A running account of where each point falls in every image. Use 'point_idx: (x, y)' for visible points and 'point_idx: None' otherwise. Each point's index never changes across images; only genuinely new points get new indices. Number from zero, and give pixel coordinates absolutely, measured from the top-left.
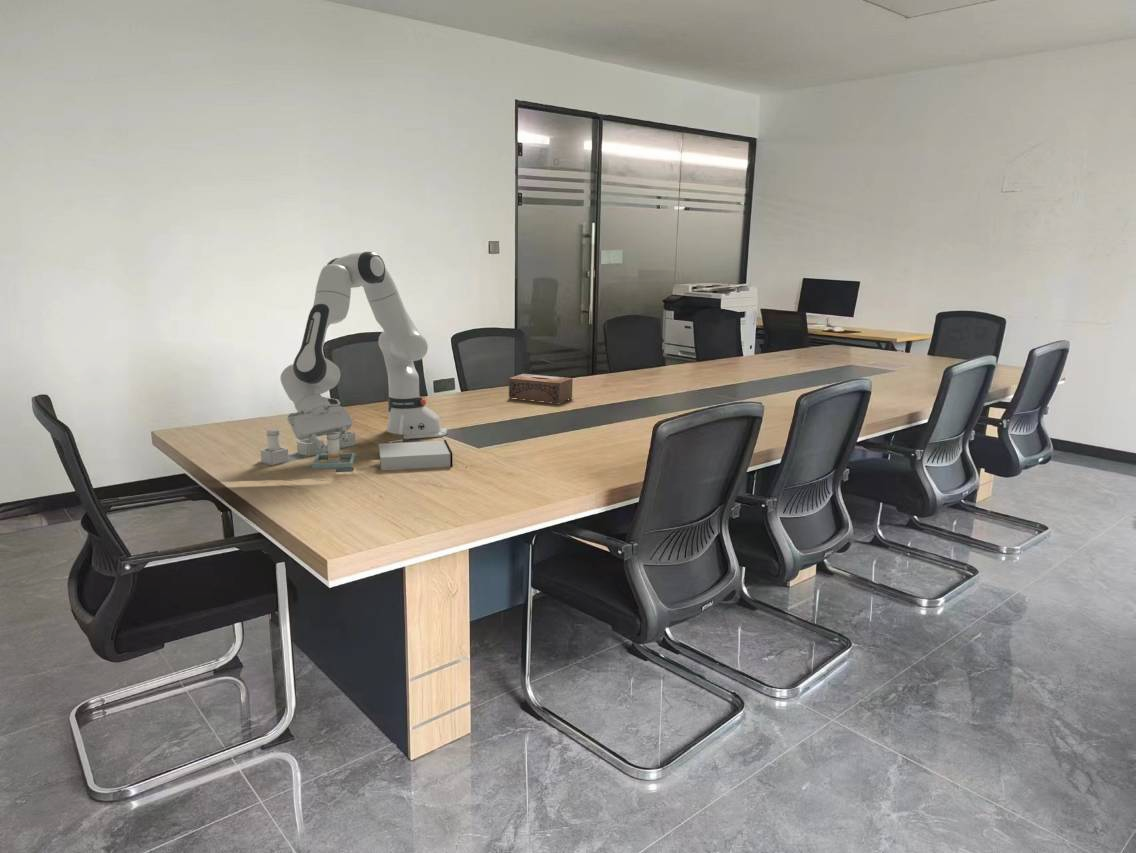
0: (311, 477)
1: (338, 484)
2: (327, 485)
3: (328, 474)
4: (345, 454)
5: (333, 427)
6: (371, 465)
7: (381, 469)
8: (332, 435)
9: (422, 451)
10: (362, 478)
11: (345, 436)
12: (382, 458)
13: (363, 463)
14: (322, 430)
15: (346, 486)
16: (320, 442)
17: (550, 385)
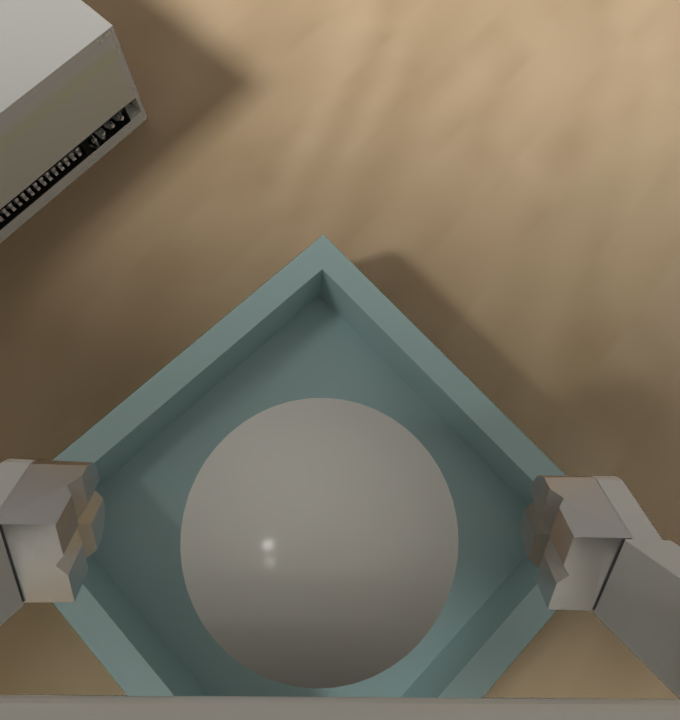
0: (653, 421)
1: (607, 118)
2: (677, 161)
3: (502, 374)
4: (84, 583)
5: (157, 705)
6: (69, 283)
7: (143, 111)
8: (380, 475)
9: None
10: (397, 87)
11: (33, 496)
12: (102, 25)
13: (52, 393)
14: (570, 698)
15: (595, 47)
16: (628, 508)
17: None
